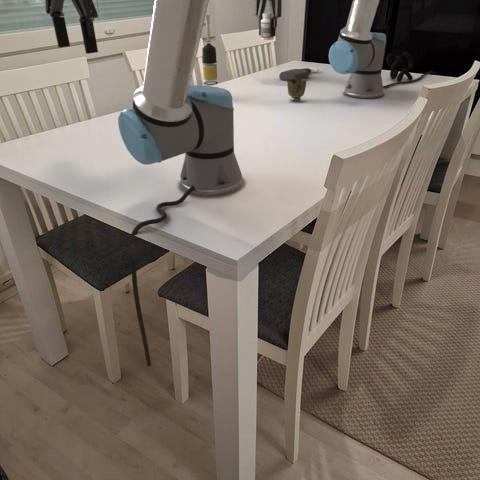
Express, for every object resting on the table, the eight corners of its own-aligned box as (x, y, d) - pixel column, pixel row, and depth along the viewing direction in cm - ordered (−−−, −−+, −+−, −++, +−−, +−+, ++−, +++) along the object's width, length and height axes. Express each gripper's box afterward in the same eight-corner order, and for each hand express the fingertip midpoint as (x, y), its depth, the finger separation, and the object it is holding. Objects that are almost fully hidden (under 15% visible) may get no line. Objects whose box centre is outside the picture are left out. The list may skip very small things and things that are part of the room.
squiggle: (400, 92, 202) (376, 71, 205) (417, 76, 202) (392, 56, 205) (405, 81, 191) (380, 59, 194) (423, 64, 191) (397, 42, 194)
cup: (283, 102, 172) (284, 80, 168) (290, 97, 178) (291, 76, 173) (301, 104, 169) (302, 82, 165) (308, 99, 175) (309, 78, 170)
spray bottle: (276, 79, 206) (305, 70, 222) (296, 82, 200) (324, 73, 216) (277, 72, 204) (305, 64, 220) (297, 75, 198) (325, 67, 214)
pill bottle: (266, 37, 190) (267, 12, 185) (276, 39, 187) (276, 13, 181) (257, 39, 187) (258, 13, 181) (267, 40, 183) (268, 14, 178)
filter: (220, 99, 177) (217, 15, 161) (206, 100, 176) (202, 16, 160) (215, 96, 182) (212, 14, 166) (202, 97, 180) (197, 14, 164)
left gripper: (15, -56, 100) (39, 46, 111) (67, -61, 85) (89, 58, 96) (47, -56, 105) (67, 42, 116) (102, -60, 89) (119, 53, 101)
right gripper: (244, -30, 177) (245, 34, 189) (280, -29, 166) (277, 38, 178) (257, -30, 181) (257, 32, 194) (292, -30, 170) (289, 36, 182)
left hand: (77, 49), depth 106 cm, fingers open, 13 cm apart
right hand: (267, 35), depth 186 cm, fingers closed on pill bottle, 5 cm apart
